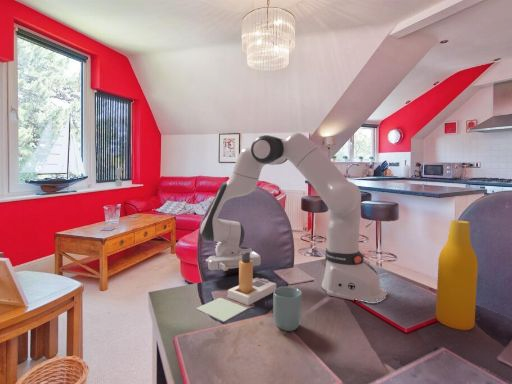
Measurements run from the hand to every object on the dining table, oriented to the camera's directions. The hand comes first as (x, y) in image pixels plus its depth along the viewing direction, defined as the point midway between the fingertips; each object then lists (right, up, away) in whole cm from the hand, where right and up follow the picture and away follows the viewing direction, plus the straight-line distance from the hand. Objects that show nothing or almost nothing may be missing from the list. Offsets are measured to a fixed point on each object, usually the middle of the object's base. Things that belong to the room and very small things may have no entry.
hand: (238, 267), depth 107 cm
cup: (+15, -10, -26) cm, 31 cm away
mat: (-4, -9, -17) cm, 20 cm away
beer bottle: (+63, -10, -22) cm, 67 cm away
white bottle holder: (+5, -8, -6) cm, 12 cm away
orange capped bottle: (+3, -8, -9) cm, 12 cm away
